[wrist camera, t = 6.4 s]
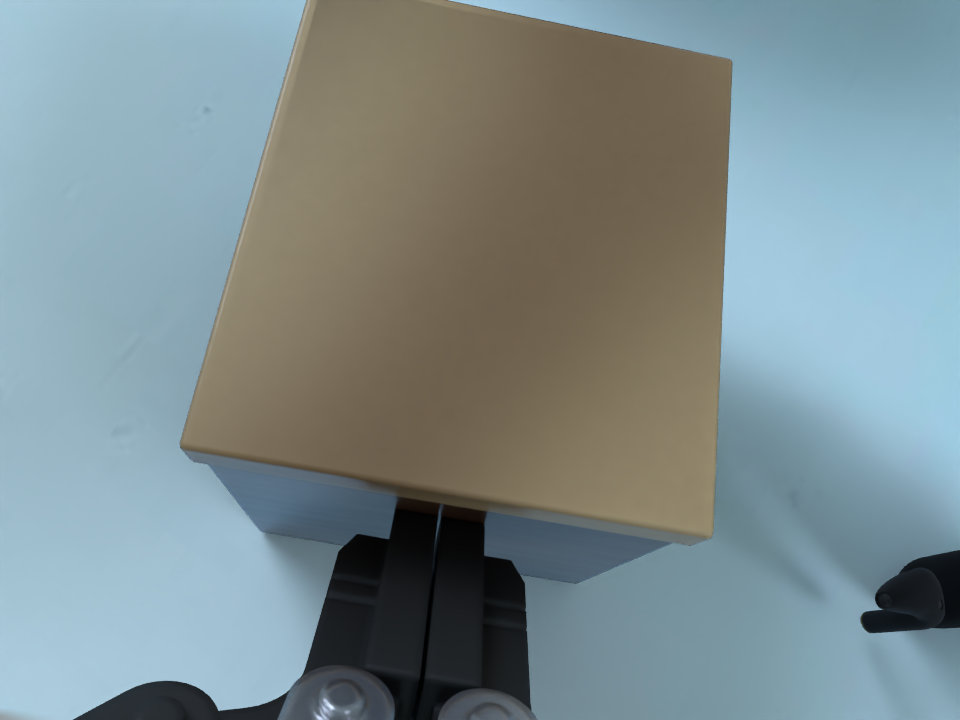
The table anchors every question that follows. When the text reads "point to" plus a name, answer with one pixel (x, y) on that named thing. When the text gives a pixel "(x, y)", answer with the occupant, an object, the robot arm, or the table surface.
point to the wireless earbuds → (919, 597)
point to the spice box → (477, 289)
